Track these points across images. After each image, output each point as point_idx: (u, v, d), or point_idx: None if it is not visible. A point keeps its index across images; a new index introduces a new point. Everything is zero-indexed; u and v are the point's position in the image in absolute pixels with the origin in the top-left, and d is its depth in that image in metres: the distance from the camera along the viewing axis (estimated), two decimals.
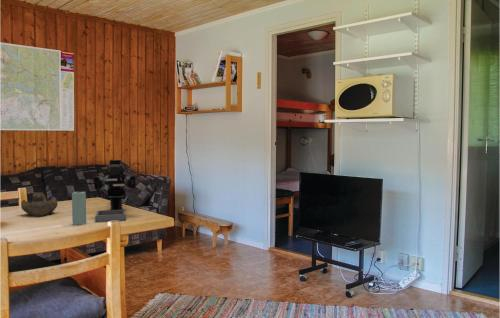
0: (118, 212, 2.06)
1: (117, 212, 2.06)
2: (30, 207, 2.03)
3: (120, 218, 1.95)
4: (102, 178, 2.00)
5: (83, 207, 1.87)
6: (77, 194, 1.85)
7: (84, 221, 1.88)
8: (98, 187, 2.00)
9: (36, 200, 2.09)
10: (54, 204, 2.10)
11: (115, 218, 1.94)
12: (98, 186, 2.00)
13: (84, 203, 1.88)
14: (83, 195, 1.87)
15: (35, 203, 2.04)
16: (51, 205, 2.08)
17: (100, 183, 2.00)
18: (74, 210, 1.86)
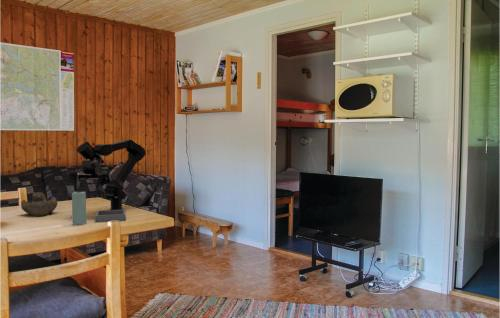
0: (118, 212, 2.06)
1: (117, 212, 2.06)
2: (30, 207, 2.03)
3: (120, 218, 1.95)
4: (75, 177, 1.98)
5: (83, 207, 1.87)
6: (77, 194, 1.85)
7: (84, 221, 1.88)
8: (74, 182, 2.01)
9: (36, 200, 2.10)
10: (54, 204, 2.10)
11: (115, 218, 1.94)
12: (74, 181, 2.01)
13: (84, 203, 1.88)
14: (83, 195, 1.87)
15: (35, 203, 2.04)
16: (51, 205, 2.08)
17: None
18: (74, 210, 1.86)
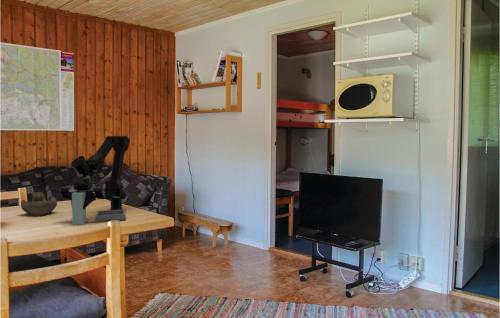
0: (118, 212, 2.06)
1: (117, 212, 2.06)
2: (30, 207, 2.04)
3: (120, 218, 1.95)
4: None
5: None
6: (77, 194, 1.85)
7: (84, 221, 1.88)
8: (71, 199, 1.92)
9: (36, 200, 2.10)
10: (53, 204, 2.11)
11: (115, 218, 1.94)
12: (70, 198, 1.92)
13: None
14: (83, 195, 1.87)
15: (35, 203, 2.05)
16: (51, 205, 2.09)
17: None
18: (74, 210, 1.86)
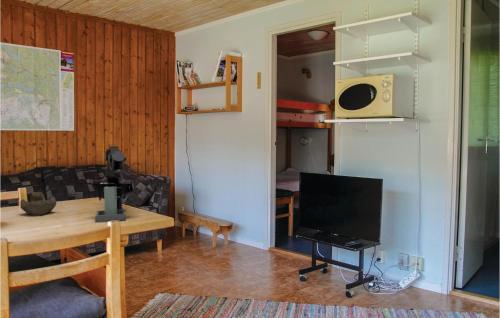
0: (118, 212, 2.06)
1: (117, 212, 2.06)
2: (29, 206, 2.05)
3: (120, 218, 1.95)
4: (99, 186, 2.00)
5: (114, 201, 1.98)
6: (109, 188, 1.97)
7: None
8: (97, 191, 2.03)
9: (35, 199, 2.11)
10: (53, 203, 2.12)
11: (115, 218, 1.94)
12: (97, 190, 2.03)
13: (115, 197, 2.00)
14: (114, 189, 1.98)
15: (34, 202, 2.06)
16: (50, 204, 2.10)
17: None
18: (106, 203, 1.97)
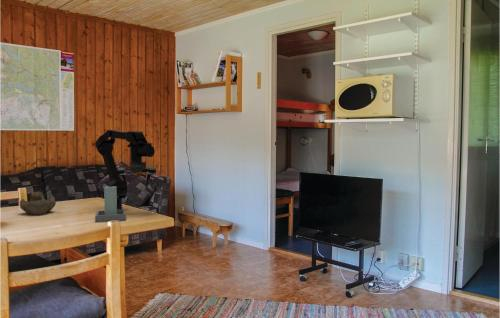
0: (118, 212, 2.06)
1: (117, 212, 2.06)
2: (29, 206, 2.06)
3: (120, 218, 1.95)
4: (124, 176, 2.08)
5: (114, 201, 1.98)
6: (109, 188, 1.97)
7: None
8: None
9: (34, 199, 2.12)
10: (52, 203, 2.13)
11: (115, 218, 1.94)
12: None
13: (115, 197, 2.00)
14: (114, 189, 1.98)
15: (34, 202, 2.07)
16: (49, 204, 2.11)
17: None
18: (106, 203, 1.97)
